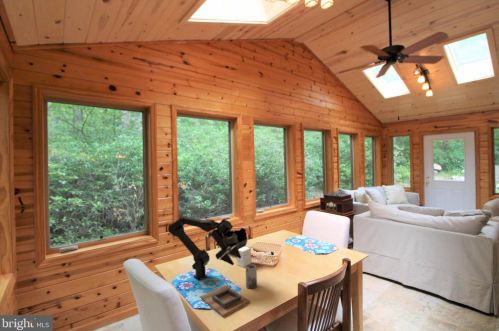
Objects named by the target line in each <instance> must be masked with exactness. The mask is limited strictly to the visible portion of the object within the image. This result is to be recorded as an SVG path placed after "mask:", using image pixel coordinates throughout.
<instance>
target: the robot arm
mask: <svg viewBox="0 0 499 331" xmlns="http://www.w3.org/2000/svg"><path fill="white" fill-rule="evenodd" d="M185 225H187V226H192V227H196V228H198V229H199V228H200V230H202V231H204V232H207V233H208V236H207V237H208V239H209V238H211V237H212V239H213V240H214V242H215V243H216V244H215V245H216V247H219V248H220V250H219V251H218V252H217V253H215V258H216V259H217V261H218V260H219V261H223V262H225V263H226V264H227V263H228V264H229V265H231V266H234V265H235V264H234V261H233V259H232V258H231V256H230V254H229V253H232V254H233V255H235V257H236V258H237V257H238V258H239V259H240V258H241V256H240V253H239V250H238V245H239V244H238V243H239V242H238V240H237V237H238V236H237V235H236V234H235V233H234V234H232V235H231V237H229V238H228V237H227V236H226V237H225V236H224V235H223V234H226V233H227V232H228V231H229V230H230V229H231V228H232V229H233V225H232V223H231V221H228V220H226V219H225V218H223V219H221V220H220V222H217V221H215V219H200V218H195V217H191V216H187V215H184V216H181V217H179V218H177V220H176V221H174V222H173V223H170V224H169V225H168V228H167V231H168V233H169V234H170V235H171V236H174V237H176V238H177V239H179V241H180V242H181V243H182V244H183V245H184V247H185V248H186V249H187V250H188V252H190V254H191V255H192V257H193V258H192V259H193V261H194V262H193V264H192V265H191V266H192V270H195V271H194V273H195V274H194V275H193V276H192V277H193V278H194V279H196V280H197V281H201V280H203V279H206V278H208V275H207V274H206V266H207V265H208V263H209V262H210V255H209V253H208V252H207V251H206V249H204V248H203V249H200V248H199V247H198V246H197V245H196V243H195V242H194V241H193V240H192V239H191V238H190V237H189V235H188V234H187V233H186V232H185V227H184V226H185ZM232 229H231V230H232ZM229 249H230V250H231V252H229V251H228V250H229Z"/></svg>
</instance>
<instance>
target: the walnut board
mask: <svg viewBox="0 0 499 331" xmlns="http://www.w3.org/2000/svg"><path fill="white" fill-rule="evenodd" d="M200 298H201V299H202V300H203V301H204V302H203V301H202V300H201V299H200ZM199 299H200V300H201V301H202V302H203V303H205V304H206V305H207V304H208V305H209V306H208V305H207V306H208V307H210V308H211V309H212V310H213V311H214V312H216V313H217V315H220V316H221V317H222V318H224V317H226V316H228V315H230V314H232V313H233V312H235V311H237V310H240V309H241V308H242V307H245V306H246V305H247V306H248V304H250V302H251V301H250V299H248V298H246V297H245V296H244V295H242V294H240V293H239V292H237V291H236V290H234V289H233V288H231V287H229V286H228V285H226V284H225V285H223V286H221V287H218V288H216V289H214V290H211V291H209V292H207V293H204V294H201V295H200V296H199Z"/></svg>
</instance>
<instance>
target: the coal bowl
mask: <svg viewBox="0 0 499 331" xmlns="http://www.w3.org/2000/svg"><path fill="white" fill-rule="evenodd" d="M234 233H235V234H236V235H237V236H238V237H237V240H238V242H239V243H238V244H239V245H238V249H240V248H242V247H244V246H245V247H247V244H248V234H247V229H246V228H243V227H240V229H237V230H236V229H235V230H233V227H232V228H231V229H230V230H229V231H228V232H227V233H226V234H223V235H224V236H225V237H226V236H227V237H228V238H229V237H231V235H232V234H234ZM228 251H229V253H232V252H231V250H230V249H229V250H228ZM228 251H227V252H228Z"/></svg>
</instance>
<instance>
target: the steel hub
mask: <svg viewBox="0 0 499 331" xmlns="http://www.w3.org/2000/svg"><path fill="white" fill-rule="evenodd" d="M257 272H258V270H257V265H256V264H254V263H253V264H252V263H251V264H249V265H246V266H245V287H246V289H249V290H254V289H257V287H258V273H257Z"/></svg>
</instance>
